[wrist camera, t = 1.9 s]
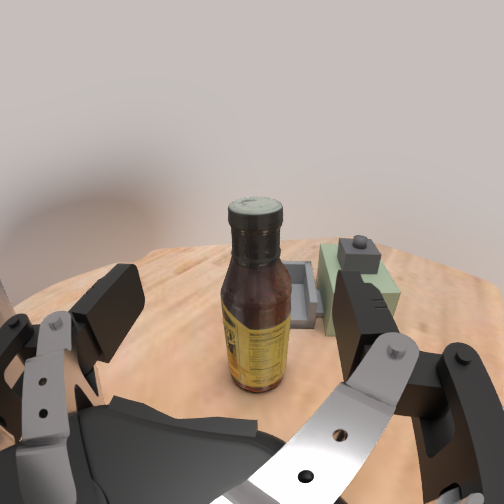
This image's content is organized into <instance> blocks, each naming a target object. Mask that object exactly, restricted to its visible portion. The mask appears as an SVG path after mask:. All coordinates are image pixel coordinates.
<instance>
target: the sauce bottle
mask: <svg viewBox="0 0 504 504" xmlns="http://www.w3.org/2000/svg"><path fill="white" fill-rule="evenodd" d="M228 222H229V224H230V226H231V234H232V252H231V254H232V257H231V261H230V264H229V268H228V271H227V274H226V277H225V280H224V282H223V285H222V288H221V303H222V312H223V322H224V330H225V338H226V346H227V354H228V361H229V368H230V372H231V374H232V376H233V378H234V381H235V382H236V384H238V385H239V386H240V387H241V388H244V389H247V390H249V391H252V392H262V391H266V390H270V389H272V388H274V387H276V386H277V385H278V383H279V382H280V381H281V379H282V377H283V373H284V371H285V368H286V359H287V350H288V341H289V330H290V319H291V293H292V282H291V276H290V275H289V272H288V270H287V269H286V268H285V265H284V264H283V263H282V261H281V259H280V258H279V257H280V253H281V249H280V247H279V246H280V227H281V226H282V222H283V206H282V204H281V202H279V201H277V200H275V199H271V198H266V197H249V198H243V199H239V200H236V201H234V202H232V203H230V204H229V206H228Z"/></svg>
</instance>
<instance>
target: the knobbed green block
mask: <svg viewBox="0 0 504 504" xmlns="http://www.w3.org/2000/svg"><path fill="white" fill-rule="evenodd" d="M282 263H283V264H284V265H285V268H286V269H287V270H288V272H289V275H290V276H291V282H292V293H291V319H290V328H312V329H314V325H315V319H316V317H323V321H324V327H325V334H326V336H336V335H335V330H334V325H333V319H332V304H333V298H334V291H335V284H336V277H337V272H338V270H358V271H359V273H360V275H361V277H362V279H363V281H364V283H372V284H373V285H374V286H375V287H376V288H378V289H379V290H380V292H381V294H382V296H383V298H384V301H385V302H386V304H387V306H388V308H389V310H390V312H391V315H392V317H393V316H394V313H395V310H396V307H397V303H398V300H399V297H400V294H401V292H400V291H399V289H398V287H397V285H396V284H395V282H394V280H393V279H392V277H391V275H390V274H389V272H388V270H387V269H386V267H385V265H384V264H383V262H382V261H381V253H380V252H379V250H378V249H377V247H376V246H375V244H374V243H373V241H372V240H371V239H367V237H364V236H361V235H356V236H354V239H346V238H339V244H320V252H319V262H318V272H317V286H318V289H316V288H315V282H314V276H313V270H312V265H311V262H309V261H282Z"/></svg>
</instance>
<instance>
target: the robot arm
mask: <svg viewBox="0 0 504 504" xmlns="http://www.w3.org/2000/svg"><path fill="white" fill-rule="evenodd" d="M144 304H145V296H144V292H143V289H142V285H141V281H140V277H139V273H138V269H137V267H136V265H134V264H120V263H119V264H117V265H116V266H115V267H114V268H113V269H112V270H111V271H110V272H109V273H108V274H107V275H106V276H104V277H102V278H101V279H99V280H98V281H97V282H96V283H95V284H94V285H93V286H92V288H90V289H89V290H88V291H87V292H86V294H84V295H83V296H82V297H81V298H80V299H79V301H78V302H77V303H76V304H75V305H74V306H73V307H72V308H71V309H70V310H69V311H68V312H67V311H57V312H54V313H52V314H50V315H48V316H47V317H46V318H44V320H43V321H42V322H41V324H38V325H32V324H31V322H30V320H29V318H28V316H27V315H26V314H17V315H16V313H15V311H14V309H13V307H12V305H11V303H10V301H9V299H8V296H7V294H6V292H5V290H4V287H3V285H2V283H1V280H0V504H348V503H347V502H346V501H345V500H343V499H342V498H341V497H340V496H339V495H340V494H341V493H342V492H343V490H344V489H345V488H346V486H347V485H348V484H349V483H350V481H351V480H352V479H353V477H354V476H355V474H356V473H357V472H358V470H359V469H360V467H361V466H362V465H363V463H364V462H365V460H366V459H367V457H368V456H369V454H370V453H371V451H372V449H373V448H374V446H375V445H376V443H377V441H378V440H379V438H380V437H381V435H382V433H383V431H384V430H385V428H386V426H387V424H388V423H389V421H390V419H391V417H392V415H393V414H395V415H402V416H410V417H411V418H412V423H413V428H414V434H415V439H416V445H417V451H418V457H419V464H420V472H421V480H422V490H423V502H424V504H504V410H503V407H502V405H501V402H500V400H499V397H498V395H497V393H496V390H495V388H494V386H493V384H492V381H491V379H490V377H489V375H488V373H487V371H486V369H485V367H484V364H483V362H482V360H481V358H480V357H479V355H478V353H477V352H476V351H475V350H474V349H473V348H472V347H470V346H469V345H467V344H464V343H459V342H456V343H451V344H449V345H448V346H447V347H446V348H445V350H444V352H443V353H442V354H435V353H428V352H423V351H419V348H418V346H417V344H416V343H415V342H414V340H412V339H411V338H410V337H408V336H406V335H404V334H401V333H400V332H399V330H398V328H397V325H396V323H395V321H394V319H393V317H392V315H391V312H390V310H389V308H388V306H387V304H386V302H385V301H384V298H383V296H382V294H381V292H380V290H379V289H378V288H376V287H375V286H374V285H373V284H372V283H364V281H363V279H362V277H361V275H360V273H359V271H358V270H338V272H337V277H336V284H335V291H334V298H333V304H332V319H333V325H334V330H335V335H336V340H337V345H338V350H339V356H340V361H341V367H342V373H343V379H344V382H341V383H340V384H339V385H338V386H337V387H336V388H335V389H334V391H333V392H332V393H331V394H330V396H329V397H328V398H327V399H326V400H325V402H324V403H323V404H322V405H321V406H320V407H319V409H318V410H317V411H316V412H315V413H314V414H313V416H312V417H311V418H310V419H309V420H308V421H307V422H306V423H305V424H304V425H303V427H302V428H301V429H300V430H299V431H298V432H297V433H296V434H295V435H294V436H293V437H292V438H291V439H290V440H289V441H288V442H287V443H286V442H284V441H283V440H281V439H279V438H277V437H275V436H273V435H270V434H268V433H265V432H262V431H258V422H257V420H246V419H234V418H224V417H208V418H193V419H175V418H172V417H170V416H168V415H166V414H164V413H162V412H160V411H157V410H155V409H153V408H151V407H149V406H148V405H146V404H144V403H140V402H136V401H132V400H128V399H124V398H121V397H117V396H113V398H112V400H111V402H110V404H109V405H105V403H104V399H103V394H102V389H101V384H100V379H99V374H98V369H97V367H96V365H95V363H96V361H97V360H98V361H102V362H106V363H109V362H110V361H111V359H112V357H113V356H114V354H115V352H116V351H117V349H118V348H119V346H120V344H121V343H122V341H123V340H124V338H125V337H126V335H127V333H128V332H129V330H130V329H131V327H132V326H133V324H134V323H135V321H136V319H137V318H138V316H139V315H140V313H141V312H142V310H143V308H144ZM21 436H22V441H20V442H19V440H20V438H21Z"/></svg>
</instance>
